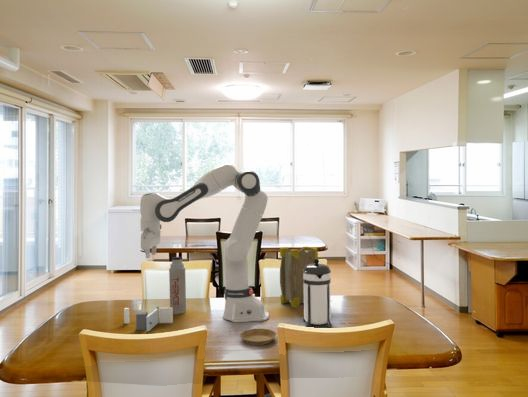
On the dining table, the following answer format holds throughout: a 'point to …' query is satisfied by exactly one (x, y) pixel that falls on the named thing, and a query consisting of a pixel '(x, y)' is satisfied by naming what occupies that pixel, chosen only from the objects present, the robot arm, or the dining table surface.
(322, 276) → the coffee press
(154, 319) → the door
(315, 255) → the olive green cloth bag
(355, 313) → the dining table surface
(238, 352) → the dining table surface
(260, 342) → the plant saucer
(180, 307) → the thermos bottle
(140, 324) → the block
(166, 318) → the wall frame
